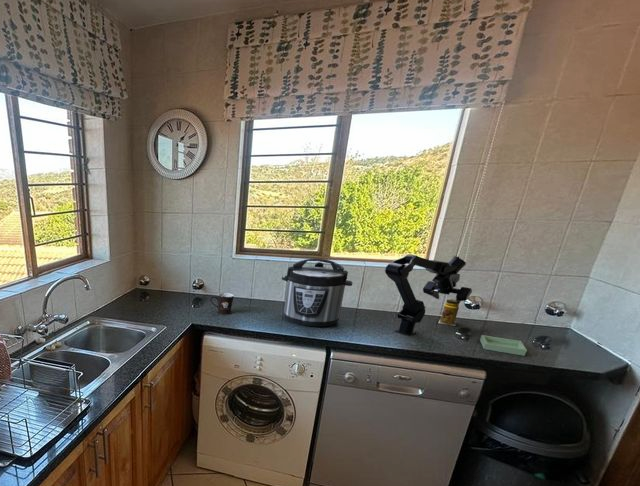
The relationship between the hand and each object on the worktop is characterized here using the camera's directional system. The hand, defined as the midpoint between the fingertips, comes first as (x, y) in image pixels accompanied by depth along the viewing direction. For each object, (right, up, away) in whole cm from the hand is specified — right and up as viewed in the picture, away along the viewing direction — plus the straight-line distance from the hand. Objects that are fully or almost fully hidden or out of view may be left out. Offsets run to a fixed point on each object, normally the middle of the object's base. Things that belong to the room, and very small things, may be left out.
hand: (448, 300), depth 199 cm
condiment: (+5, -11, +8) cm, 14 cm away
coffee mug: (-109, -4, +22) cm, 111 cm away
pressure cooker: (-65, -10, +10) cm, 67 cm away
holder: (+5, -23, -24) cm, 34 cm away
